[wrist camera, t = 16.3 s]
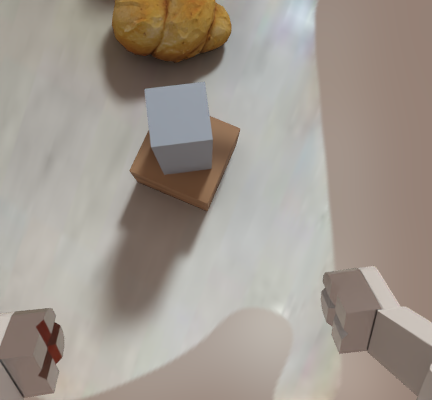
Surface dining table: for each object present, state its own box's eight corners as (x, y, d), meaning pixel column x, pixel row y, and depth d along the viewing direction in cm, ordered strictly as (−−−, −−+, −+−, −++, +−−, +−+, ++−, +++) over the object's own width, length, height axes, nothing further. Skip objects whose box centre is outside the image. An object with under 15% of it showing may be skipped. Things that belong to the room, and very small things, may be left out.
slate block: (211, 168, 38) (212, 139, 30) (164, 174, 38) (150, 147, 29) (205, 123, 39) (204, 81, 30) (158, 129, 39) (144, 88, 30)
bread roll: (240, 15, 47) (247, -37, 39) (212, 90, 45) (213, 51, 37) (135, -20, 47) (121, -78, 39) (103, 53, 45) (81, 7, 37)
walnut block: (207, 211, 43) (207, 203, 38) (137, 182, 43) (129, 170, 38) (236, 144, 44) (240, 128, 39) (168, 116, 44) (164, 97, 40)
